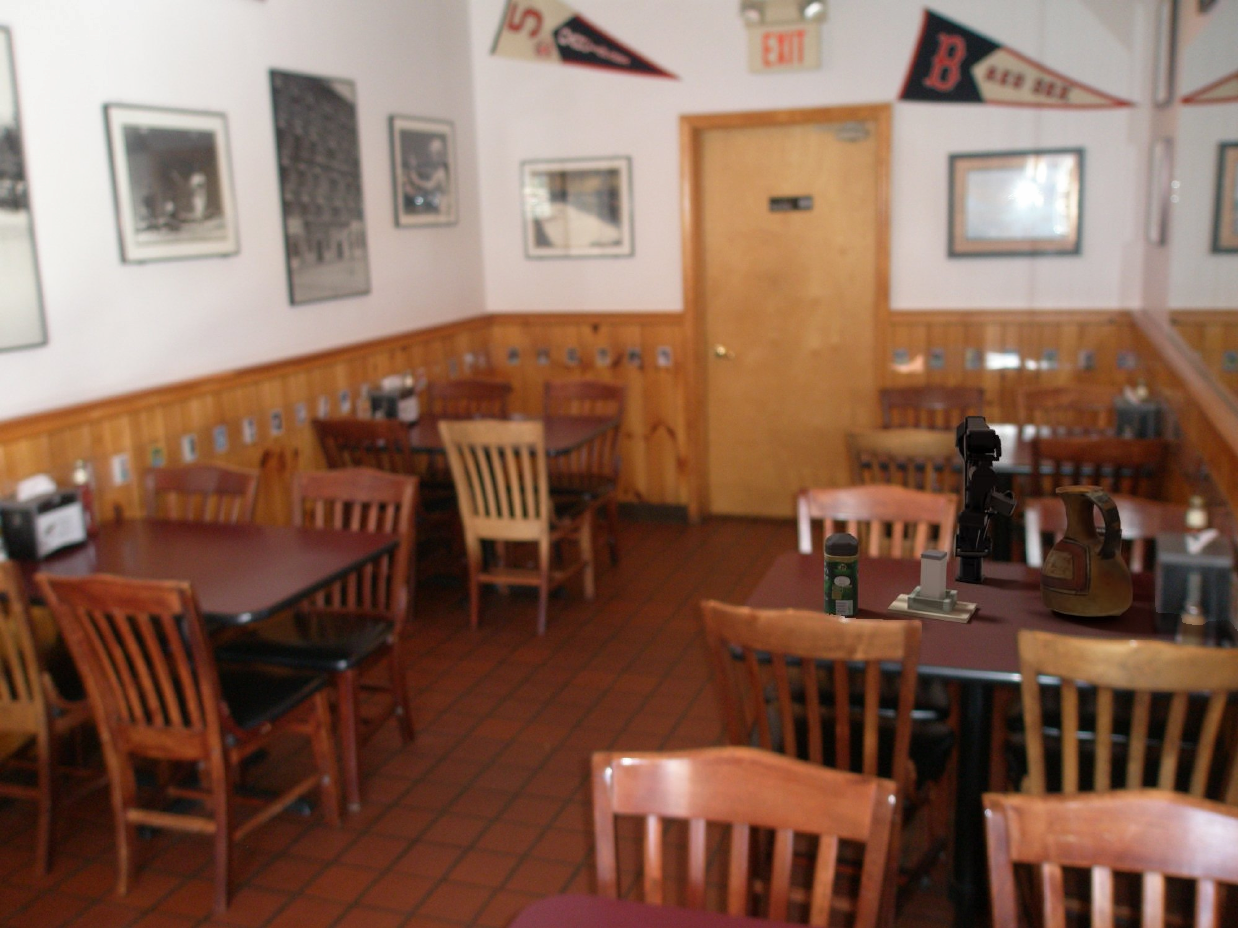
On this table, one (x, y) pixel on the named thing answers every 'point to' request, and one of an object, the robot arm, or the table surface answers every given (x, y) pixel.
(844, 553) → the coffee jar
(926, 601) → the end holder
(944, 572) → the connector plug
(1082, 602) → the ceramic pitcher
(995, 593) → the table surface
